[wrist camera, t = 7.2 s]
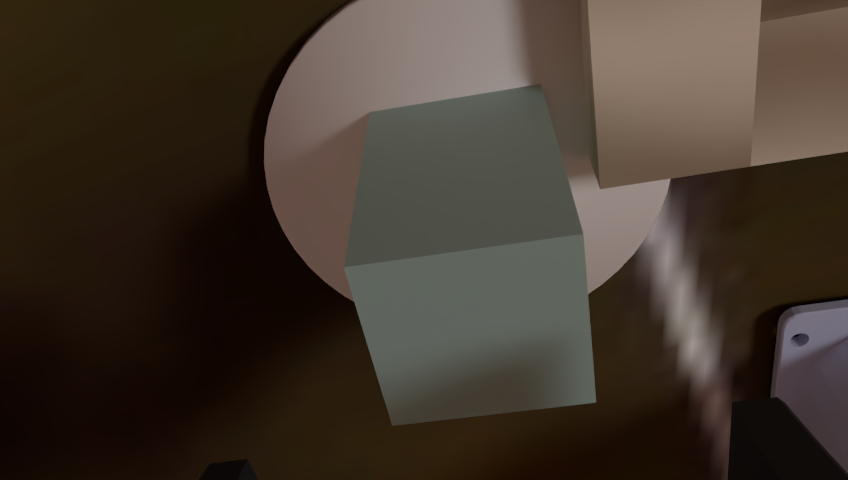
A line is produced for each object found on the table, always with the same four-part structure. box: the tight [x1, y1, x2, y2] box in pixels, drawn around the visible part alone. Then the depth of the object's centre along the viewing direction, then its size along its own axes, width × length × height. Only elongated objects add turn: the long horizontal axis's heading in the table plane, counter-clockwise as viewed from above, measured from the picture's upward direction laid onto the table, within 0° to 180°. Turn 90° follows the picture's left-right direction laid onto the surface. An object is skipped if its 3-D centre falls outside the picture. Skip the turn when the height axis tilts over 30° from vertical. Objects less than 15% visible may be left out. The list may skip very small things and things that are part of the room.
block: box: [344, 84, 596, 426], centre depth 16 cm, size 4×4×6 cm
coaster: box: [264, 0, 670, 301], centre depth 19 cm, size 10×10×1 cm
